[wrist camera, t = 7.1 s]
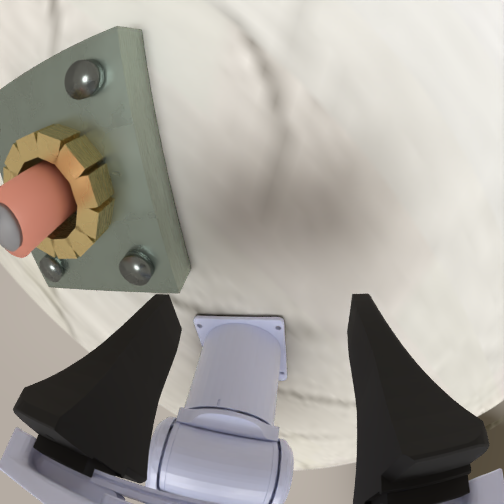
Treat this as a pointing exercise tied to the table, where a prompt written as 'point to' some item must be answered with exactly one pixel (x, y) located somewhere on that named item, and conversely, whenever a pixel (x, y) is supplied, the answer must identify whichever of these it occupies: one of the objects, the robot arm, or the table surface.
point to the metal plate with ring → (98, 166)
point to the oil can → (33, 207)
